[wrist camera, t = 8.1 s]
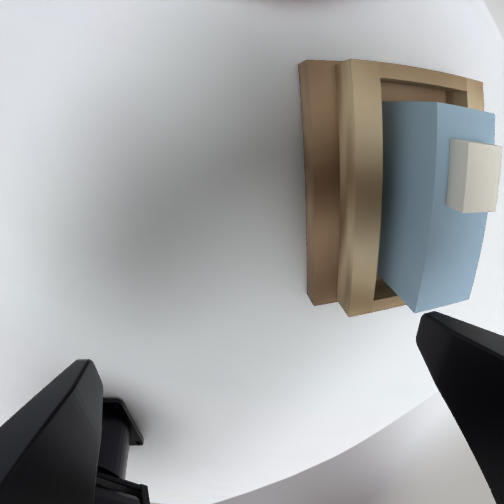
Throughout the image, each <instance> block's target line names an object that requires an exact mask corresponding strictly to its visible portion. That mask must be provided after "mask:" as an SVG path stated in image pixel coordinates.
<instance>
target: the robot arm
mask: <svg viewBox="0 0 504 504" xmlns="http://www.w3.org/2000/svg"><path fill="white" fill-rule="evenodd" d="M416 343H417V346H418V348H419V350H420V352H421V354H422V356H423V359H424V361H425V363H426V365H427V367H428V369H429V372H430V374H431V376H432V378H433V380H434V382H435V384H436V386H437V388H438V390H439V392H440V393H441V395H442V397H443V399H444V400H445V402H446V404H447V406H448V408H449V409H450V411H451V413H452V415H453V417H454V418H455V420H456V422H457V424H458V426H459V428H460V429H461V431H462V433H463V435H464V437H465V439H466V441H467V443H468V445H469V447H470V449H471V451H472V452H473V454H474V456H475V458H476V460H477V462H478V465H479V466H480V468H481V470H482V473H483V475H484V477H485V479H486V481H487V483H488V485H489V488H490V489H491V492H492V494H493V497H494V499H495V501H496V504H504V336H502V335H499V334H496V333H494V332H491V331H488V330H485V329H483V328H480V327H477V326H474V325H472V324H469V323H466V322H463V321H461V320H458V319H455V318H452V317H450V316H447V315H444V314H441V313H439V312H436V311H433V312H429V313H425V314H423V315H422V317H421V319H420V323H419V327H418V331H417V335H416ZM143 442H144V440H143V438H142V436H141V434H140V433H139V431H138V429H137V427H136V425H135V424H134V422H133V420H132V418H131V416H130V414H129V412H128V411H127V409H126V407H125V405H124V403H123V402H122V401H121V400H119V399H103V384H102V381H101V379H100V376H99V374H98V372H97V370H96V367H95V365H94V363H93V361H92V360H90V359H79V360H76V361H75V362H73V363H72V364H71V365H70V366H69V367H68V368H66V369H65V370H64V371H63V372H62V373H61V374H60V375H58V376H57V377H56V378H55V379H54V380H53V381H51V382H50V383H49V384H48V385H47V386H46V387H45V388H43V389H42V390H41V391H40V392H39V393H38V394H37V395H35V396H34V397H33V398H32V399H31V400H30V401H29V402H28V403H26V404H25V405H24V406H23V407H22V408H21V409H20V410H19V411H17V412H16V413H15V414H14V415H13V416H12V417H11V418H10V419H9V420H7V421H6V422H5V423H4V424H3V425H2V426H1V427H0V504H150V501H149V494H148V487H147V486H146V485H143V484H136V483H133V482H130V481H127V480H125V475H126V466H127V458H128V450H129V445H138V446H139V445H143Z"/></svg>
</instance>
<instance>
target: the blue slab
mask: <svg viewBox="0 0 504 504" xmlns="http://www.w3.org/2000/svg"><path fill="white" fill-rule="evenodd" d="M382 126H383V182H382V209H381V227H380V241H379V253H378V264H377V274H378V275H379V276H380V277H381V279H382V280H383V281H384V282H385V283H386V284H387V285H388V286H389V287H390V288H391V289H392V290H393V291H394V292H395V293H396V294H397V295H398V296H399V297H400V298H401V299H402V300H403V301H404V302H405V303H406V305H407V306H408V307H409V308H410V309H411V310H412V311H413V312H414V313H418V312H422V311H426V310H430V309H434V308H438V307H442V306H446V305H449V304H453V303H457V302H461V301H464V300H468V299H469V297H470V293H471V289H472V286H473V282H474V278H475V274H476V270H477V265H478V261H479V256H480V252H481V247H482V242H483V237H484V231H485V225H486V219H487V213H488V212H494V211H496V205H497V198H498V190H499V181H500V171H501V158H502V147H501V146H497V145H494V137H495V114H493V113H489V112H484V111H480V110H476V109H471V108H466V107H461V106H456V105H451V104H446V103H440V102H422V101H382Z"/></svg>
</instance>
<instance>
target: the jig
mask: <svg viewBox="0 0 504 504" xmlns="http://www.w3.org/2000/svg"><path fill="white" fill-rule="evenodd" d="M298 66H299V78H300V91H301V106H302V121H303V139H304V159H305V184H306V220H307V294H308V296H309V298H310V300H311V302H312V304H313V305H314V306H316V305H322V304H328V303H334V302H339V303H340V305H341V306H342V308H343V309H344V311H345V312H346V314H347V315H348V317H352V316H357V315H361V314H366V313H371V312H376V311H380V310H385V309H389V308H394V307H398V306H403V305H406V303H405V302H404V301H403V300H402V299H401V298H400V297H399V296H398V295H397V294H396V293H395V292H394V291H393V290H392V289H391V288H390V287H389V286H388V285H387V284H386V283H385V282H384V281H383V280H382V279H381V277H380V276H379V275H378V274H377V264H378V253H379V241H380V227H381V209H382V182H383V126H382V101H422V102H440V103H446V104H451V105H456V106H461V107H466V108H471V109H476V110H480V111H484V98H483V82H480V81H476V80H472V79H468V78H464V77H460V76H456V75H452V74H447V73H443V72H438V71H433V70H428V69H423V68H417V67H411V66H405V65H398V64H391V63H384V62H376V61H366V60H356V59H349V60H346V61H343V62H342V61H324V60H305V61H303V62H302V63H300V64H298Z"/></svg>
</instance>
